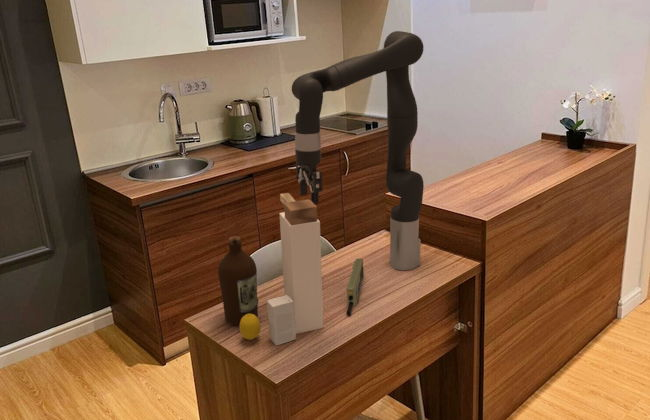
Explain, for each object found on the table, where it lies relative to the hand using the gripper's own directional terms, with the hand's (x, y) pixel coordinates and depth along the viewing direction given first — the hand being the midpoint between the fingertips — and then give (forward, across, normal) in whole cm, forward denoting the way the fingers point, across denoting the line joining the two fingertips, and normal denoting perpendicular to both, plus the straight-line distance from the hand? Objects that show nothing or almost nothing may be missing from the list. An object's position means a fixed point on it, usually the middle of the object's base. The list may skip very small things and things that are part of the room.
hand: (309, 199), depth 173 cm
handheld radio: (+29, -12, -9) cm, 33 cm away
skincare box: (+29, -24, +19) cm, 43 cm away
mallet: (-3, -14, +11) cm, 18 cm away
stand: (+29, -19, +10) cm, 36 cm away
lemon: (+29, -21, +26) cm, 45 cm away
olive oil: (+30, -9, +26) cm, 40 cm away
